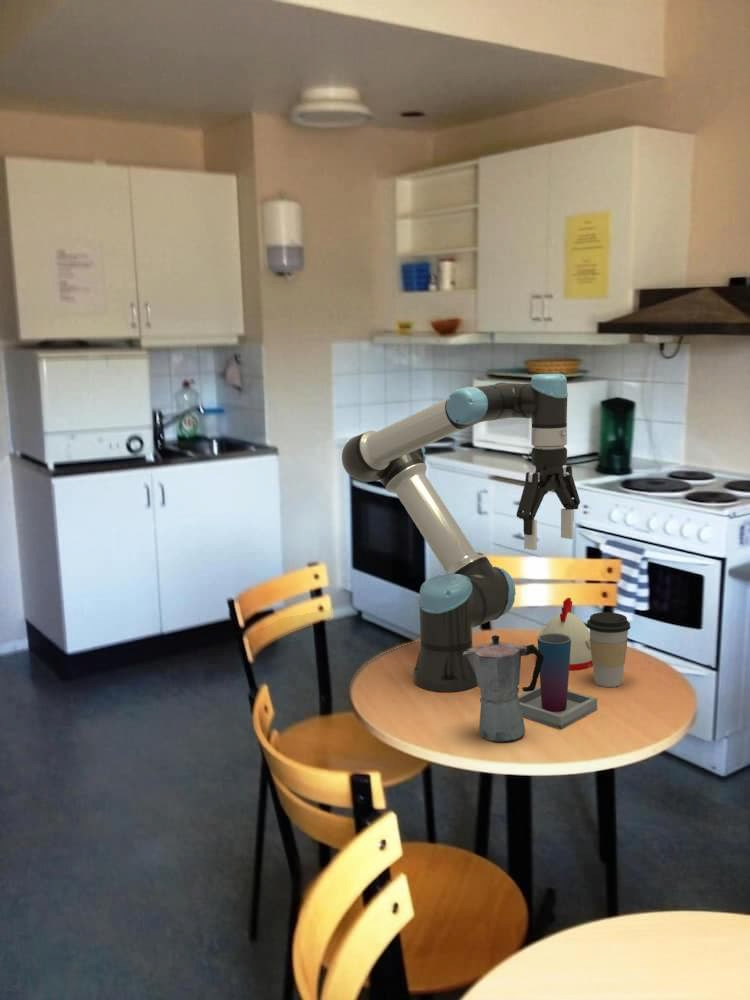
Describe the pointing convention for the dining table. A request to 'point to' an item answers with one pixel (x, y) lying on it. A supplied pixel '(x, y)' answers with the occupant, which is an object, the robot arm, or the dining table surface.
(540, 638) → the cup
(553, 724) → the tray
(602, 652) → the coffee cup
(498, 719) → the moka pot
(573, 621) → the kitchen timer
